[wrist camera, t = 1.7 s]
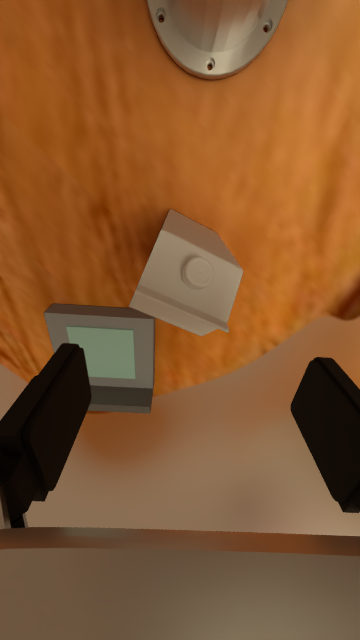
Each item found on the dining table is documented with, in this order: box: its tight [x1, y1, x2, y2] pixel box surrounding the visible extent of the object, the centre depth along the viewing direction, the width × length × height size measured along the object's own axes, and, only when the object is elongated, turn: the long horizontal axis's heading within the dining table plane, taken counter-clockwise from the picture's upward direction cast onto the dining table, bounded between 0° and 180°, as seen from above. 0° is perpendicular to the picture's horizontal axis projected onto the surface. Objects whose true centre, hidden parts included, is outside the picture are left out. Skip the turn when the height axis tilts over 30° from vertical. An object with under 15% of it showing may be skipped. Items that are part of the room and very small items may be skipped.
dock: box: [44, 303, 155, 413], centre depth 38 cm, size 16×16×7 cm
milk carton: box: [129, 209, 243, 336], centre depth 24 cm, size 7×7×19 cm
